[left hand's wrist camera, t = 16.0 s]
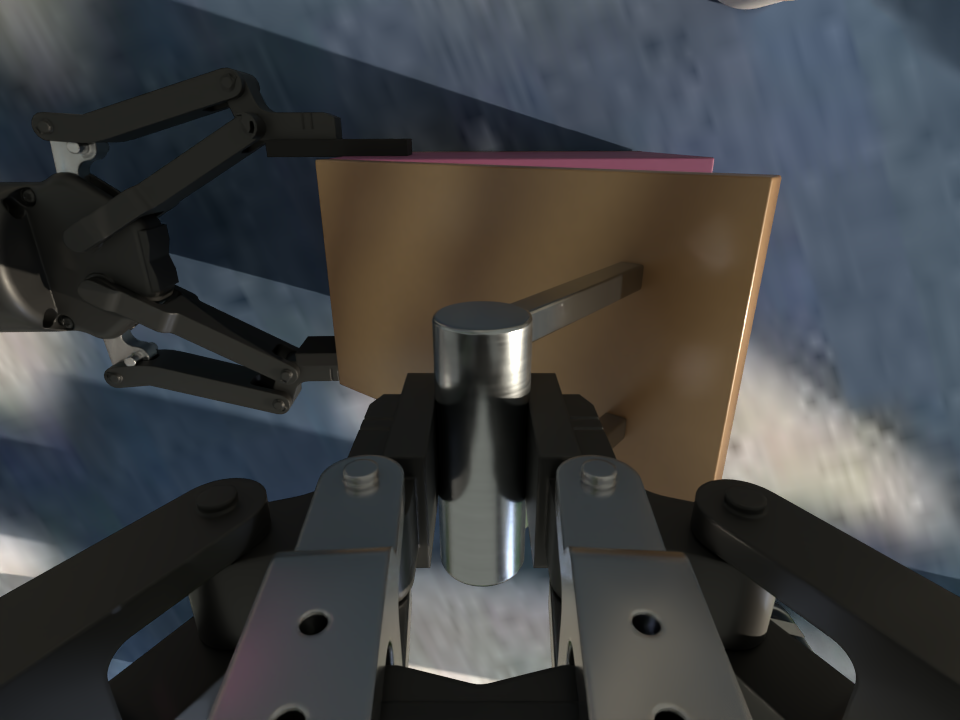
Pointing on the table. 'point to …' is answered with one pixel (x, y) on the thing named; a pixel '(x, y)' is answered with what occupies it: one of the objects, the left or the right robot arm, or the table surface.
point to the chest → (560, 159)
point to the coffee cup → (749, 3)
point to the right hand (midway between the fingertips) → (414, 255)
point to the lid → (546, 318)
